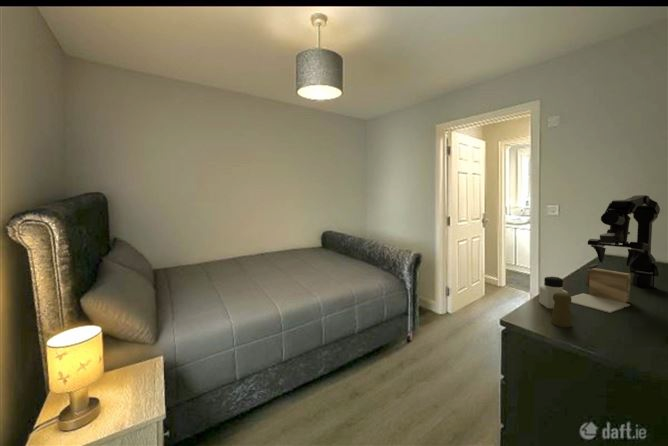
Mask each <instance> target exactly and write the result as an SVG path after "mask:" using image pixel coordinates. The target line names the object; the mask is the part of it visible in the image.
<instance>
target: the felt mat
mask: <svg viewBox="0 0 668 446" xmlns="http://www.w3.org/2000/svg"><path fill="white" fill-rule="evenodd" d="M570 304H574V305H578V306H581V307H586V308H589V309H594V310H597V311H601V312H605V313H608V314H611V313H614V312H617V311H619V310H622V309H625V308H627V307H629V306H631V304H630V303H622V302H618V301H614V300H609V299H605V298H601V297H596V296H592V295H589V293H588V294H587V293H583V292H582V293H579V294H576V295H572V296H571V303H570ZM624 307H625V308H624Z"/></svg>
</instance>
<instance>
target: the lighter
mask: <svg viewBox="0 0 668 446" xmlns="http://www.w3.org/2000/svg"><path fill="white" fill-rule="evenodd" d="M597 267H598V263H594V264H590V265H589V268H588V269H587V270H586V272H587V274H586V275H587V280H586V281H587V282H586V286H589V281H590V269H593V268H597Z"/></svg>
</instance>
